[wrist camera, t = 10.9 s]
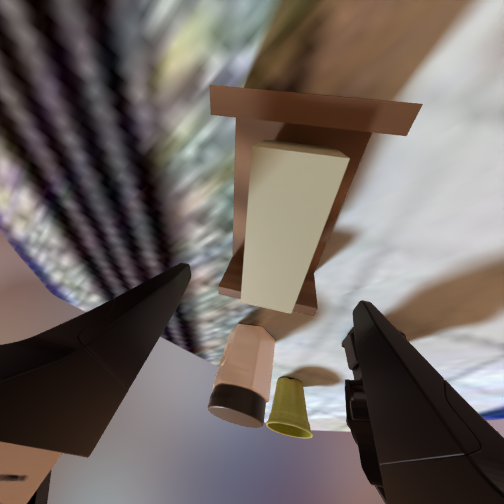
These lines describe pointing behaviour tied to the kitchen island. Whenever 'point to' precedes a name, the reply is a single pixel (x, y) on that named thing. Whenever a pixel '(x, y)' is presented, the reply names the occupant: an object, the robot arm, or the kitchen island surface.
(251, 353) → the jar
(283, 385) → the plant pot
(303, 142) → the shelf frame
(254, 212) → the beige rectangular block
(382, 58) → the kitchen island surface
